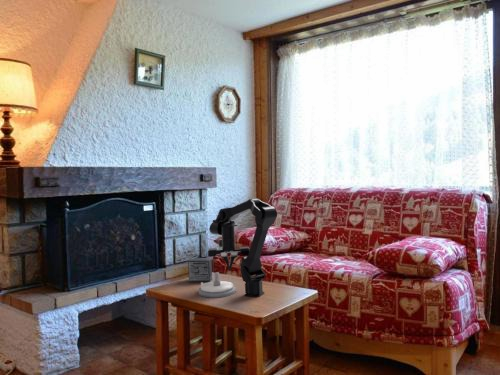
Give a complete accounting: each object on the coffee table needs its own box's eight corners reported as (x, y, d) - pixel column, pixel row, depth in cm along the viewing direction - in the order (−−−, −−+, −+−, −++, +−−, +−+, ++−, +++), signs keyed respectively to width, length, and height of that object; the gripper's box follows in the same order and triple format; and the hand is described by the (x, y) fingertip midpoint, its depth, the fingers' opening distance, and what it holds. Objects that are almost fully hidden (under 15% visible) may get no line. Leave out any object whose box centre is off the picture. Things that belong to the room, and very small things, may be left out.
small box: (212, 278, 208) (211, 257, 208) (210, 282, 202) (209, 260, 201) (191, 278, 209) (190, 257, 209) (188, 282, 203) (187, 260, 203)
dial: (233, 291, 178) (233, 279, 178) (200, 293, 177) (199, 281, 177) (232, 283, 192) (232, 271, 191) (201, 284, 191) (201, 273, 190)
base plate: (241, 288, 188) (241, 281, 188) (224, 299, 174) (223, 290, 173) (210, 285, 195) (210, 278, 195) (191, 295, 181) (191, 287, 180)
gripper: (247, 232, 198) (249, 265, 199) (207, 234, 197) (209, 267, 198) (249, 236, 187) (250, 271, 188) (207, 238, 186) (208, 273, 187)
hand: (229, 270), depth 190 cm, fingers closed
